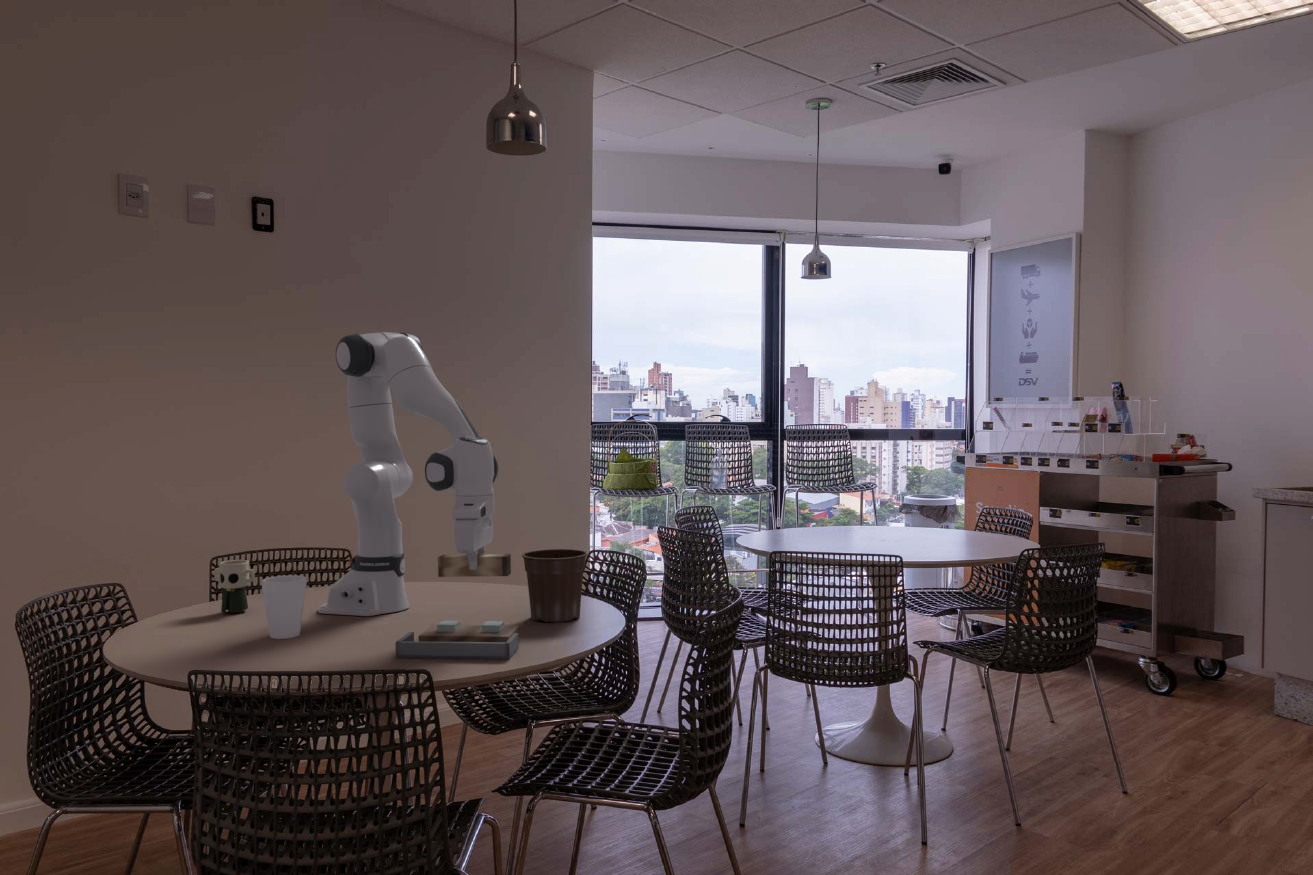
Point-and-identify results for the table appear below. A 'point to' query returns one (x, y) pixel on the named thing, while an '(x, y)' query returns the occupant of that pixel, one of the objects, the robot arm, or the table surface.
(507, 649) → the tray
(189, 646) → the table surface
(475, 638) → the board
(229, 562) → the character mug
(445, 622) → the tile
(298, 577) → the foam cup
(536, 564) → the plant pot
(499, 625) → the tile
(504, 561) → the brown wooden block
